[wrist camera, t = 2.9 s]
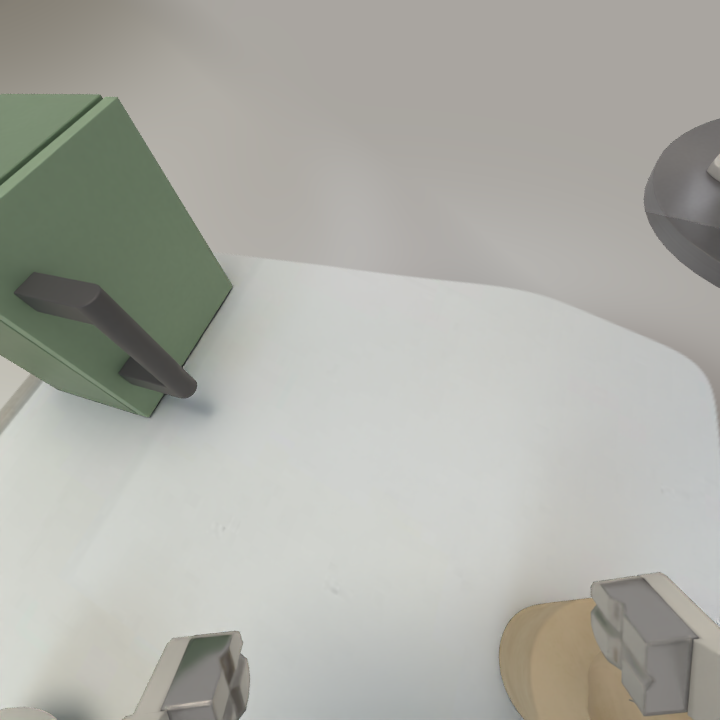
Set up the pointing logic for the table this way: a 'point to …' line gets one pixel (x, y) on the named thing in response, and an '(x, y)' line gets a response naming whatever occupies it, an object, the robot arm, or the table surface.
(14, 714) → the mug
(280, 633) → the table surface
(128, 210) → the door
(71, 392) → the cabinet
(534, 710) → the candle
